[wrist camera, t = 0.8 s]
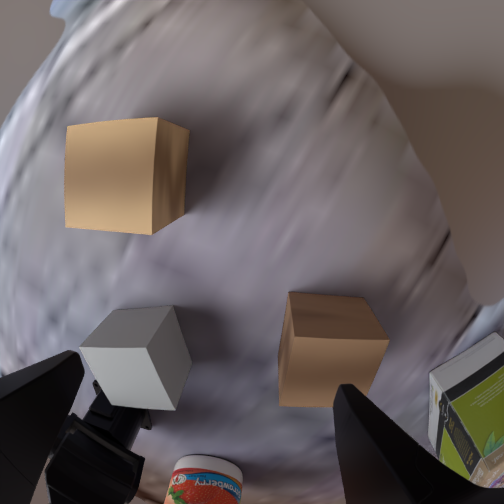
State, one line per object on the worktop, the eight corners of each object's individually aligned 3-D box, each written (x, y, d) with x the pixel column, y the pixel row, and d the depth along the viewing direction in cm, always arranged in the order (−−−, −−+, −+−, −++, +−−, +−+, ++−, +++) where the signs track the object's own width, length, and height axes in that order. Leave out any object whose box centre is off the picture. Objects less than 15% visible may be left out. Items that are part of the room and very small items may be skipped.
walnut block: (345, 357, 23) (361, 406, 17) (277, 354, 23) (279, 405, 17) (363, 297, 21) (389, 339, 15) (288, 291, 21) (294, 336, 15)
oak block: (184, 214, 20) (151, 235, 14) (112, 209, 20) (65, 226, 14) (190, 130, 18) (157, 117, 12) (115, 132, 18) (67, 126, 12)
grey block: (192, 362, 24) (175, 410, 18) (136, 363, 24) (111, 404, 18) (173, 304, 22) (145, 347, 16) (113, 309, 22) (79, 346, 17)
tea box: (482, 401, 25) (523, 469, 11) (425, 435, 26) (457, 514, 12) (496, 326, 21) (569, 405, 7) (426, 369, 23) (486, 478, 9)
